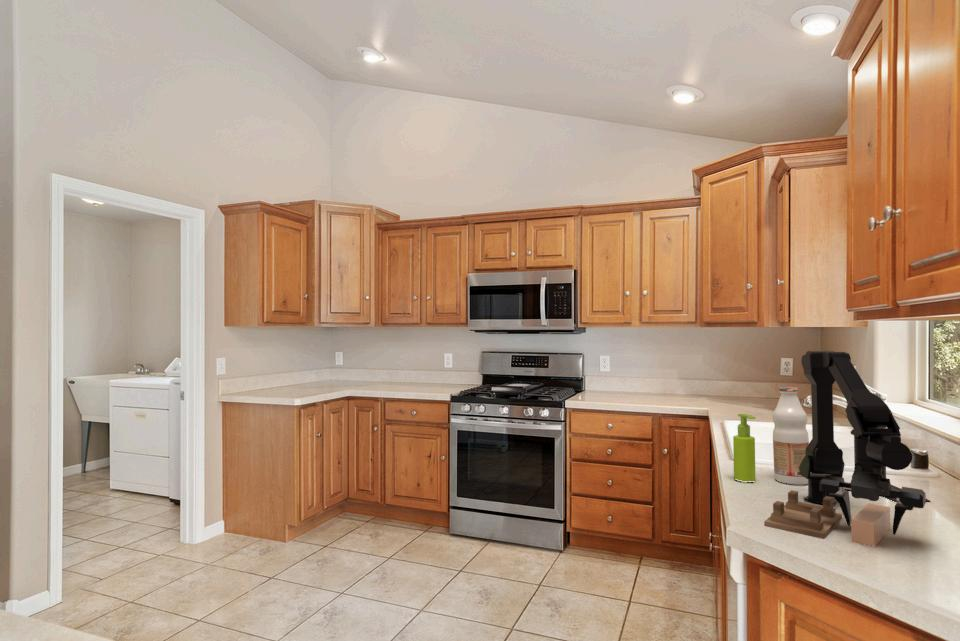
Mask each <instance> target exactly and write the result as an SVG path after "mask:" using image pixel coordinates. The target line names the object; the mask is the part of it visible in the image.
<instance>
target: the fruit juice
mask: <svg viewBox="0 0 960 641" xmlns="http://www.w3.org/2000/svg"><path fill="white" fill-rule="evenodd" d="M778 391H779V393H780V396H779V398H778V401H777V405H776V407H775V409H774V410H773V412H772V421H773V424H774V428H773V430H772V445H773V446H772V449H773V473H774V474H773V476H774V480H775V479H776V480H777V481H776V480H775V481H776V482H778V481H779V483H781V482H782V484H786V483H787V484H788V485H795V486H796V485H799V486H802V485H808V479H806V478H805V477H803V476H801V475H800V471H799V466H800V464H801V462H802V460H803V458H804V457H805V453H806V447H807V446H808V444H809V443H810V440H809V433H808V431H807V424H808V423H807V422H808V414H807V413H806V411H805V410H804V408H803V406H802V403H801V402H800V399H799V397H798V393H799V388H798V387H796V386H795V387H794V386H781V387H780V386H779V390H778Z"/></svg>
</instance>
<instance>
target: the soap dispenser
mask: <svg viewBox="0 0 960 641" xmlns="http://www.w3.org/2000/svg"><path fill="white" fill-rule="evenodd" d="M737 416H738V417H740V423H739V424H737V434H736V435H733V438H732V439H733V440H732V442H733V444H732V445H733V446H732V447H733V479H734V478H735V479H738V480H742V481H755V482H756V439H755V438H756V437H754V436H751V425H749V424H748V420H747V419H749V420H753V419H756V416H754V415H752V414H748V413H738V414H737Z"/></svg>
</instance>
